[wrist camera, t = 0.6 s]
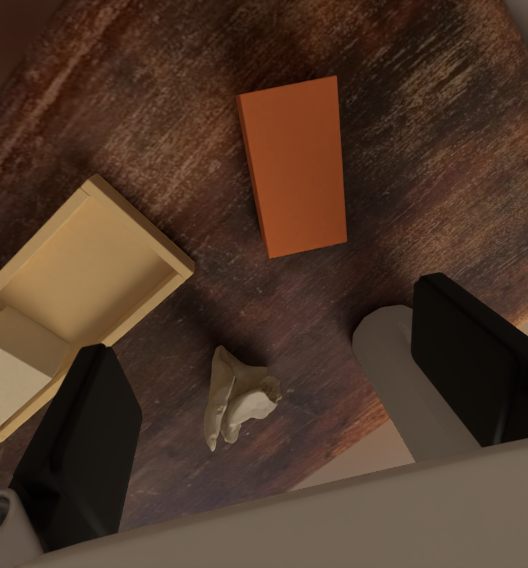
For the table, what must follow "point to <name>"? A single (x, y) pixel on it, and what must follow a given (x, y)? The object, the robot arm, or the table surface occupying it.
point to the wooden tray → (89, 277)
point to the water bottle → (407, 386)
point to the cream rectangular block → (25, 359)
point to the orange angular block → (295, 164)
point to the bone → (237, 396)
